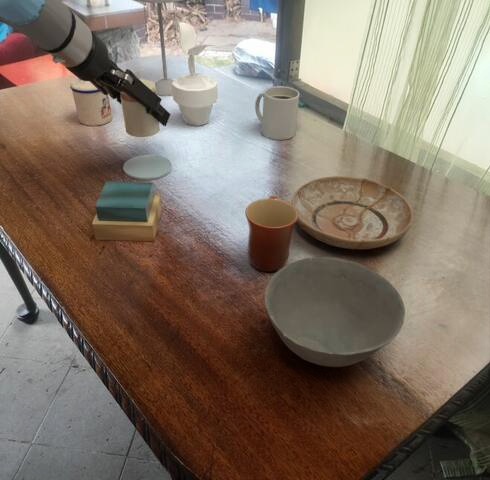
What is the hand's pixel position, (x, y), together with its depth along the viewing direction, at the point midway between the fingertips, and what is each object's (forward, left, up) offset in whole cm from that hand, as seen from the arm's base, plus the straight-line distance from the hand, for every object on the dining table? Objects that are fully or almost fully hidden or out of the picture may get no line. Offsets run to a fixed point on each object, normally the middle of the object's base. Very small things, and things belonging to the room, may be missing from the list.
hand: (152, 115), depth 98 cm
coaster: (+2, -3, -11) cm, 11 cm away
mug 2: (+42, +7, -11) cm, 44 cm away
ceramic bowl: (+40, +26, -11) cm, 49 cm away
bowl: (+65, +4, -11) cm, 66 cm away
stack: (+22, -13, -11) cm, 27 cm away
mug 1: (-4, +34, -11) cm, 36 cm away
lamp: (-42, +17, -11) cm, 47 cm away
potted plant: (-17, +17, -11) cm, 27 cm away
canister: (+2, -3, -2) cm, 4 cm away
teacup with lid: (-30, -7, -11) cm, 33 cm away
